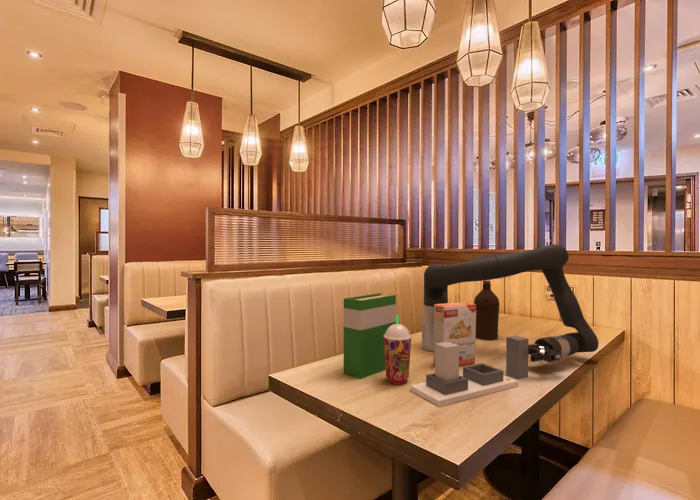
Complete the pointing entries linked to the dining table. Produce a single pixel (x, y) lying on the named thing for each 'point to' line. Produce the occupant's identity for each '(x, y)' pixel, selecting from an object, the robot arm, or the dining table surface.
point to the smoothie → (397, 353)
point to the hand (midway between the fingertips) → (519, 354)
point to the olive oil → (487, 313)
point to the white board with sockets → (459, 379)
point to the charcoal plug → (517, 357)
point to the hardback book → (366, 333)
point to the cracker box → (456, 328)
